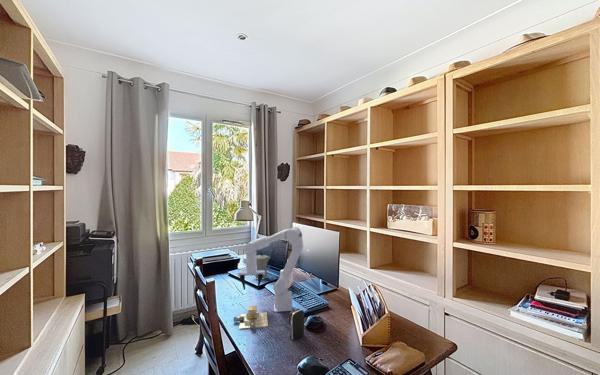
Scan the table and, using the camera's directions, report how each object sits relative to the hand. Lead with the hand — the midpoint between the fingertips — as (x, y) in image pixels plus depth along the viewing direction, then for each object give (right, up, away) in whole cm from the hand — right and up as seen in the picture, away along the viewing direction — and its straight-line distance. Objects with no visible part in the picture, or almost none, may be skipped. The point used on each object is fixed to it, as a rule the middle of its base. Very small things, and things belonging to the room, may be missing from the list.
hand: (251, 288), depth 144 cm
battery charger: (+25, -10, -29) cm, 40 cm away
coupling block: (+4, -9, -17) cm, 19 cm away
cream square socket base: (+3, -10, -18) cm, 20 cm away
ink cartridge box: (+18, -9, +25) cm, 33 cm away
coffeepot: (-2, -9, +43) cm, 44 cm away
